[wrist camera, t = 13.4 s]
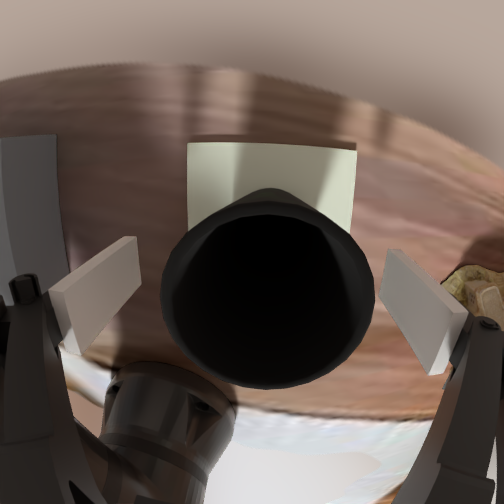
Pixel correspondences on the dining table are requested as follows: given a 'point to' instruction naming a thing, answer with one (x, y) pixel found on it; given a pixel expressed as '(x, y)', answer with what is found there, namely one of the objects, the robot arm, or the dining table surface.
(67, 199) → the dining table surface
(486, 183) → the dining table surface
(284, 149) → the mat
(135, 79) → the dining table surface
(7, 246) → the slot box
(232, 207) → the cup
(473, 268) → the ceramic model
